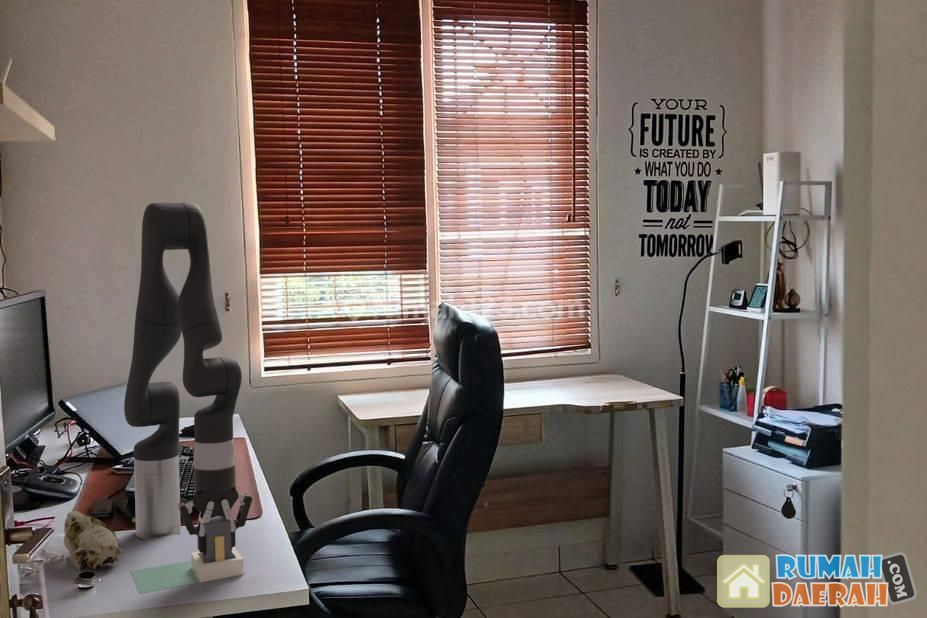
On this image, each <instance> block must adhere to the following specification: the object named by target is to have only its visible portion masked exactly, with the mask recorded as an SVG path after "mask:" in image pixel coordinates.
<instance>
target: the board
mask: <svg viewBox="0 0 927 618" xmlns="http://www.w3.org/2000/svg"><path fill="white" fill-rule="evenodd" d="M130 573H131V576H132V578H133V581H134V584H135V586H136V589H137V591H138V594H139V595H140V594H145V593H151V592H156V591H161V590H167V589H172V588H179V587H182V586H183V587H185V586H189V585H194V584H200V583H201V582H199V580H198V578H197V577H196V575H195V573H194V571H193V570H192V567H191V560H187V561H181V562H175V563H170V564H163V565H158V566H152V567H147V568H140V569H135V570H131V571H130ZM246 574H247V573H246V572H245V571H244V569H243V574H242V575H241V576H244V575H246ZM238 576H239V575H237V576H236V577H238ZM232 577H234V576H232ZM232 577H231V578H232ZM227 578H229V577H226V578H225V579H227ZM221 579H223V578H221ZM221 579H220V580H221ZM215 580H218V579H215ZM215 580H214V581H215ZM211 581H212V580H210V581H209V582H211ZM205 582H207V581H204V582H203V583H205Z"/></svg>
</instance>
